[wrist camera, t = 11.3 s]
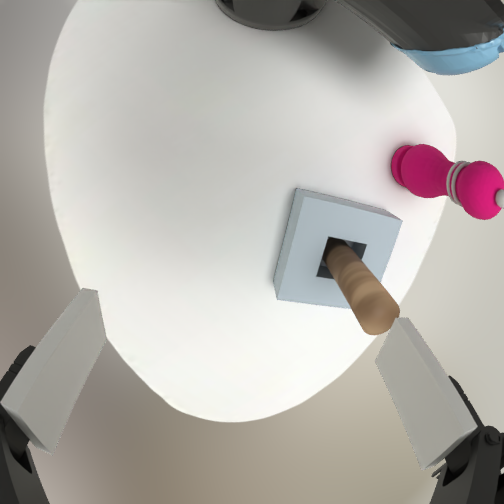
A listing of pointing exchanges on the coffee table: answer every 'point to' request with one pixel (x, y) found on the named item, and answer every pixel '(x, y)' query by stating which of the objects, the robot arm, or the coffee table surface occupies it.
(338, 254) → the dowel
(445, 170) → the pepper mill
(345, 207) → the bore block
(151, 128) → the coffee table surface
